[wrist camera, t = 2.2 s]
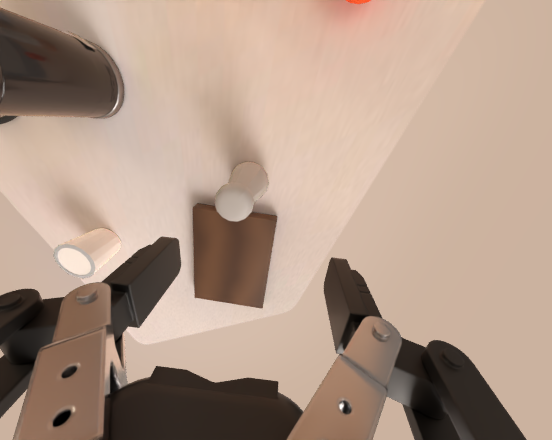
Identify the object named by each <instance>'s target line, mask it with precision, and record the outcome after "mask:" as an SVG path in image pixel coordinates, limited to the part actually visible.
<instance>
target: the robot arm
mask: <svg viewBox="0 0 552 440" xmlns="http://www.w3.org/2000/svg"><path fill="white" fill-rule="evenodd" d="M69 33H70V32H69ZM70 34H72V35H73V36H72V35H69V34H66V33H64V32H62V31H59V30H57V29H54V28H52V27H49V26H46V25H44V24H41V23H39V22H36V21H34V20H31V19H28V18H26V17H23V16H21V15H18V14H16V13H13V12H10V11H8V10H5V9H3V8H0V115H5V116H4V117H1V118H0V124H3V123H6V122H9V121H11V120H13V119H14V118H16V117H17V116H55V117H90V118H108V117H111V116H113V115H114V114H116V113H117V112H118V110H119V109H120V107H121V105H122V103H123V99H124V86H123V81H122V78H121V75H120V72H119V70H118V68H117V66H116V65H115V63H114V61H113V60H112V59H111V57H110V56H109V55H108V54H107V53H106V52H105V51H104V50H103V49H101V48H100V47H99V46H97V45H96V44H94V43H92V42H89V41H87V40H84V39H82V38H81V37H80V36H78V35H75V34H73V33H70ZM74 36H75V37H74ZM180 268H181V258H180V248H179V241H178V239H177V238H169V237H160V238H159V239H158V240H157V241H156V242H155V243H153V244H152V245H148V246H146V247H144V248H142V249H140V250H138V251H137V252H136V253H135V254H134V255H132V257H131V258H129V259H128V260H127V261H125V263H123V264H122V265H121V266H120V267H118V268H117V269H116V270H115V271H114V272H113V273H111V274H110V275H109V276H108V277H107V278H106V279H104V280H103V281H102V282H96V283H90V284H86V285H83V286H81V287H78V288H76V289H75V290H73V291H71V292H70V293H69V294H67V295H66V296H65V297H61V298H51V299H43V300H42V298H41V296H40V294H39V292H38V291H37V290H35V289H21V290H16V291H12V292H9V293H6V294H3V295H1V296H0V349H1V350H2V352H3V353H4V356H3V357H1V358H0V418H1V416H3V415H4V413H5V412H6V411H7V410H8V409H9V408H10V407H11V406H12V405H13V404H14V403H15V402H16V400H17V399H18V398H19V397H20V396H21V395H22V394H23V393H24V392H25V391H26V389H27V392H26V396H25V399H24V403H23V406H22V410H21V413H20V416H19V420H18V423H17V427H16V430H15V434H14V437H13V440H373V437H374V434H375V431H376V427H377V425H378V422H379V418H380V415H381V412H382V409H383V406H384V403H385V400H386V397H389V398H391V399H393V400H395V401H397V402H400V403H401V404H403V407H404V410H405V413H406V416H407V419H408V422H409V425H410V428H411V430H412V433H413V436H414V439H415V440H526V438H525V437H524V435H523V434H522V432H521V431H520V430H519V428H518V427H517V425H516V424H515V422H514V421H513V420H512V418H511V417H510V415H509V414H508V412H507V411H506V410H505V408H504V407H503V405H502V404H501V403H500V401H499V400H498V398H497V397H496V395H495V394H494V392H493V391H492V390H491V388H490V387H489V385H488V384H487V382H486V381H485V380H484V378H483V377H482V375H481V374H480V372H479V371H478V370H477V368H476V367H475V365H474V364H473V363H472V361H471V360H470V359H469V358H468V357H467V356H466V355H465V354H464V353H463V352H462V351H460V350H459V349H458V348H456V347H454V346H453V345H451V344H449V343H446V342H444V341H439V340H433V341H431V342H429V344H428V345H427V347H423V346H421V345H419V344H416V343H413V342H411V341H408V340H406V339H404V338H402V337H401V335H400V333H399V332H398V330H397V329H396V328H395V327H394V326H393V325H392V324H391V323H389V322H388V321H386V320H384V319H382V317H381V314H380V312H379V310H378V308H377V306H376V304H375V301H374V299H373V298H372V295H371V294H370V291H369V289H368V287H367V284H366V282H365V280H364V278H363V277H362V276H361V275H360V274H359V273H358V272H357V271H356V270H351V269H350V266H349V264H348V261H347V260H346V259H339V258H331V260H330V262H329V266H328V270H327V274H326V277H325V282H324V294H325V299H326V305H327V309H328V315H329V320H330V325H331V330H332V335H333V340H334V345H335V350H336V353H338V354H339V356H338V357H337V359H336V360H335V362H334V363H333V365H332V367H331V368H330V370H329V371H328V373H327V375H326V377H325V378H324V380H323V381H322V383H321V384H320V386H319V388H318V389H317V391H316V393H315V394H314V396H313V397H312V399H311V401H310V402H309V404H308V406H307V407H306V409H305V410H304V412H303V411H302V410H301V409H300V407H298V405H297V404H295V403H294V402H293V401H292V400H291V399H289V398H288V397H286V396H284V395H283V394H281V393H278V382H277V381H270V380H262V379H254V378H243V379H237V380H231V381H224V382H218V383H215V382H211V381H209V380H207V379H205V378H203V377H200V376H198V375H196V374H194V373H192V372H190V371H188V370H183V369H175V368H168V367H160V366H156V368H155V369H154V371H153V373H152V375H151V377H148V378H144V379H140V380H137V381H134V382H132V383H129V384H128V383H127V376H126V359H125V338H124V333H123V332H124V331H125V330H126V328H127V327H128V326H129V327H137V328H139V327H140V326H141V325H142V323H143V322H144V321H145V319H146V318H147V316H148V315H149V314H150V312H151V311H152V310H153V308H154V307H155V305H156V304H157V303H158V301H159V300H160V299H161V297H162V296H163V294H164V293H165V292H166V290H167V289H168V288H169V286H170V285H171V283H172V282H173V281H174V279H175V278H176V277H177V275H178V273H179V271H180Z"/></svg>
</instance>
